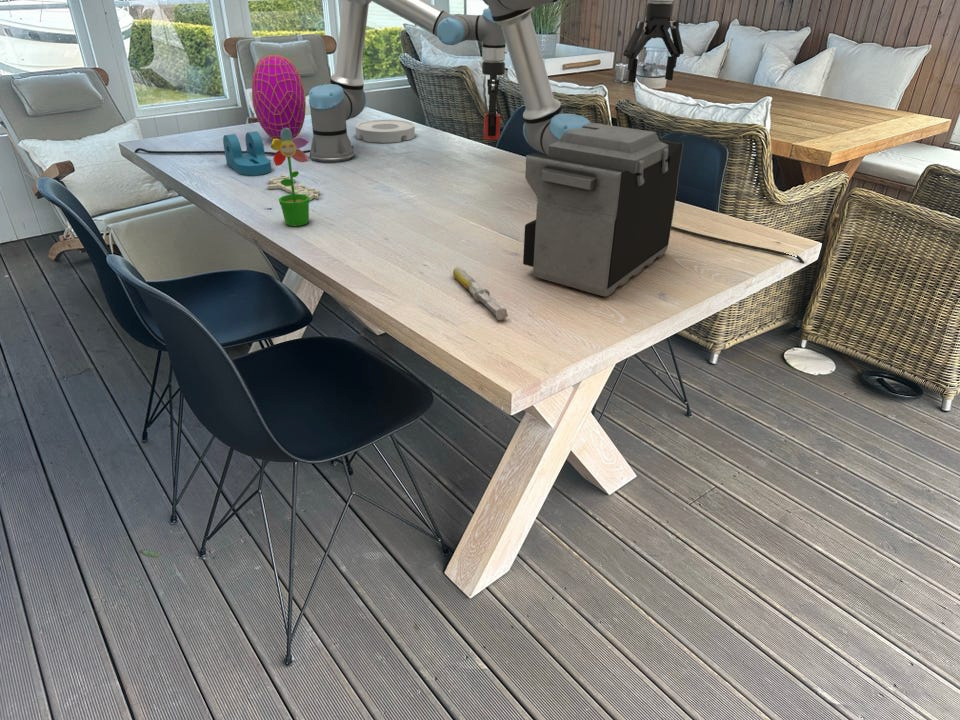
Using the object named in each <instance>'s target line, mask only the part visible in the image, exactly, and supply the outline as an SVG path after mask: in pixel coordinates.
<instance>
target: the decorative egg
mask: <svg viewBox="0 0 960 720" xmlns="http://www.w3.org/2000/svg"><path fill="white" fill-rule="evenodd" d="M253 70H254V71H253V73H252V77H251V101H252V107H253V110H254V114H255V116H256V118H257V121H258V123H259V125H260V127H261V128H262V130H263V131H264V133H266V135H267V136H268V137H270V138H271V139H272V140H273V139H279V140H281V136H280V134H281V131H282V130H283V129H284V128H288V129H289V130H290V131H291V134H292V139H293V138H295V137H298V136H299V134H301V131H302V129H303V127H304V123H305V118H306V104H307V103H306V102H307V101H306V99H307V97H306V93H305V88H304V84H303V81H302V77H301V75H300V73H299V71H298V69H297V67H296V66H295V65H294V63H293V62H292V61H291V60H290V59H288V58H287V57H285V56H282V55H280V54H268V55H265V56H262V57H261V58H260V59H259V60H258V61H257V62H256V65H255V68H254V69H253ZM281 141H282V140H281Z"/></svg>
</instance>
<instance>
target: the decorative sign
mask: <svg viewBox="0 0 960 720" xmlns="http://www.w3.org/2000/svg"><path fill="white" fill-rule="evenodd" d="M283 179H290V175H286V174H280V176H279V177H272V178H269V179H268V183H269V184H267V189H268V190H276V189H280V190H283V191H285V192H286V193H290V194H292V188H291V186H284V185H282V184H281V181H282V180H283ZM293 183H294V191H295V194H304V195H307V196H309V201H312V200H314V199H315V200H318V199H319V195H320V194H321V192H320V190H319V189H317V190H316V188H315V187H309V188H307V187H306V186H305V184H300V183H296V177H294V178H293ZM295 183H296V184H295Z"/></svg>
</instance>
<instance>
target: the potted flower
mask: <svg viewBox="0 0 960 720" xmlns="http://www.w3.org/2000/svg"><path fill="white" fill-rule="evenodd" d="M280 136H281V140H282V141H281V140H279V139H273V138H272V141H271V145H270V148H271V149H272V150H274V151H275V152H276V153H275V155H273V163H274V165H275V167H277V166H282V164H283V163H285V161H286V158H287V164H288V165H287V166H288V171H289V179H283V180H282V181H281V184H282V185H284V186H291V188H292V194H291V193H289V194H286V195H282V196H280V197H279V198H278V202H279V205H280V207H281V210H282V215H283V219H284V223H285V225H287V226H290V227H291V226H292V227H301V226H304V225H306V224H309V222H310V206H309V205H310V200H309V196H307V195H304V194H295V191H294V184H295V182H293V178H296V177H297V176H299V174H300V173H299V171H297V170H295V171H293V168H292V162H291V161H292V160H291V159H293V160H294V161H296V162H297V163H307V162H309V158H308V156H307V155H306V153H304V152H302V151H303V150H301V148H303V147H305V146H306V145H308V144H309V143H310V140H308V139H307V138H306V137H303V136H299V135H298V136H296V137H295V138H293V139H292V134H291V131H290V130H289V129H288V128H284V129H283V130H282V131H281V134H280Z"/></svg>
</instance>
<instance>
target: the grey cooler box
mask: <svg viewBox="0 0 960 720" xmlns="http://www.w3.org/2000/svg"><path fill="white" fill-rule="evenodd" d="M684 145H685V144H684V141H680V140H679V141H678V140H673V139H667V138H660V137H659V136H658V134H657V132H656V131H651V130H643V129H637V128H632V127H623V126H616V125H610V124H604V123H596V122H590V123H589V124H586V125H584V126H582V128H580V129H572V130H569V131H566V132H564V133H563V135H562V137H561V138H560V140H559V141H558V142H555V143H553V144H551V145H549V147H548V156H547V155H545V154H540V153H534V152H532V153H529V154H526V156H525V171H524V172H525V175H524V177H525V180H526V182H527V183H528V185H529V186H530V188H531V190H532V192H533V194H534V195H535V196H536V198H537V203H536V213H535V219H534V220H532V221H529V222H528V223H526V224H525V225H524V237H523V256H522V257H523V259H522V264H523V265H524V266H528V267H532V275H533V276H534V277H535V278H538V279H541V280H545V281H548V282H552V283H556V284H559V285H562V286H566V287H570V288H573V289H576V290H580V291H583V292H587V293H590V294H594V295H597V296H601V297H609V296H611V295H612V294H613V293H614V292H615V290H616V288H619V287H623V286H624V285H625V284H627V282H628V281H629V279H630V278H631V277H636V276H638V275H639V274H640V273H641V272H642V270H643V269H644V267H650V265H652V264H653V263H654V261H655V260H656V259H657V258H661V257H663V256H664V255H665V253H666V252H667V251H668V248H669V243H670V238H671V231H672V229H671V226H673V225H672V224H673V218H674V212H675V205H676V199H677V198H676V197H677V193H678V186H679V176H680V175H679V174H680V169H681V163H682V158H683V157H682V156H683V150H684Z"/></svg>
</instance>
